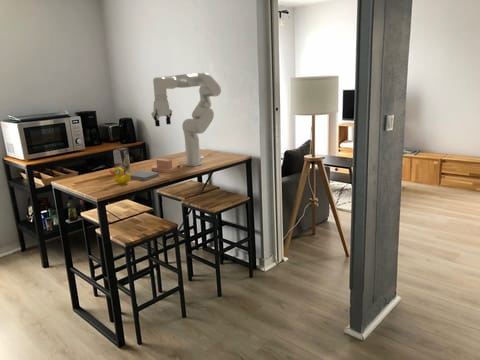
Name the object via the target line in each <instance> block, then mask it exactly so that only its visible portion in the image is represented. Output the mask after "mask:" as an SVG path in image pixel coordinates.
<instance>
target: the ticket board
mask: <svg viewBox="0 0 480 360" xmlns="http://www.w3.org/2000/svg"><path fill="white" fill-rule="evenodd" d="M129 174H130V179H132V180H138V181H139V180H140V181H144V182H146V181H149V180H151V179H152V180H153V179H155V178H158V177H160V172H156V171H155V172H154V171H150V170H148V171H147V170H142V169H141V170H138V171H134V172H131V173H130V172H129Z"/></svg>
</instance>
